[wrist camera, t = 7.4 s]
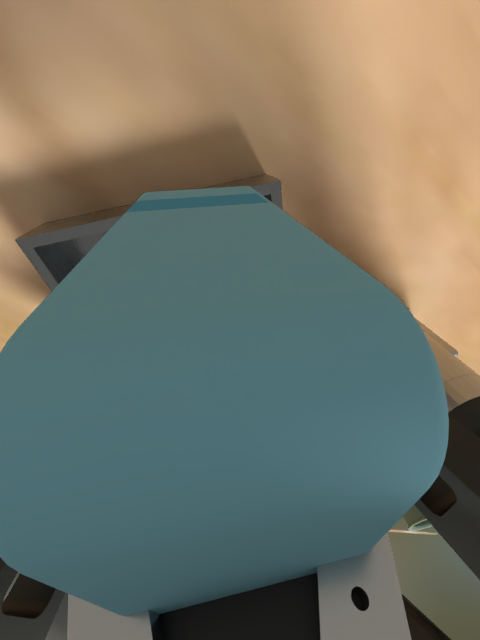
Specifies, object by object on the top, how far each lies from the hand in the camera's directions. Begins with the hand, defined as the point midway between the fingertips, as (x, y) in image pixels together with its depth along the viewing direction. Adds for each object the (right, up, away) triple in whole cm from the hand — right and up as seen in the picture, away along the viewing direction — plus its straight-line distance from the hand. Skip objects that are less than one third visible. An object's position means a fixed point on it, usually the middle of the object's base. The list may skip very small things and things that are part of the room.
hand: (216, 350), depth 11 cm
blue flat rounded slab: (-1, +3, +4) cm, 5 cm away
